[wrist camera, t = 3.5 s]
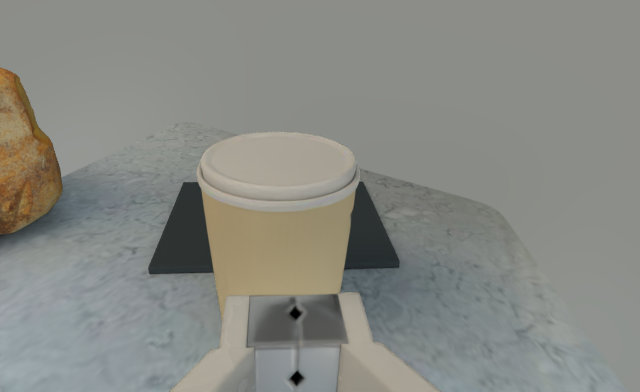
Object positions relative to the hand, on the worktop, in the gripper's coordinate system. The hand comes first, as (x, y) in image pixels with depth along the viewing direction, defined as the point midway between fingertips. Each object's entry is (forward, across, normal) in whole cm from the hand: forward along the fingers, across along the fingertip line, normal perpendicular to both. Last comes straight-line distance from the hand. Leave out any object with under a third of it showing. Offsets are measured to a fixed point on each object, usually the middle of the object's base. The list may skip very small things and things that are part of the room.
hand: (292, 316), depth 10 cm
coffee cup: (+16, 0, +14) cm, 22 cm away
